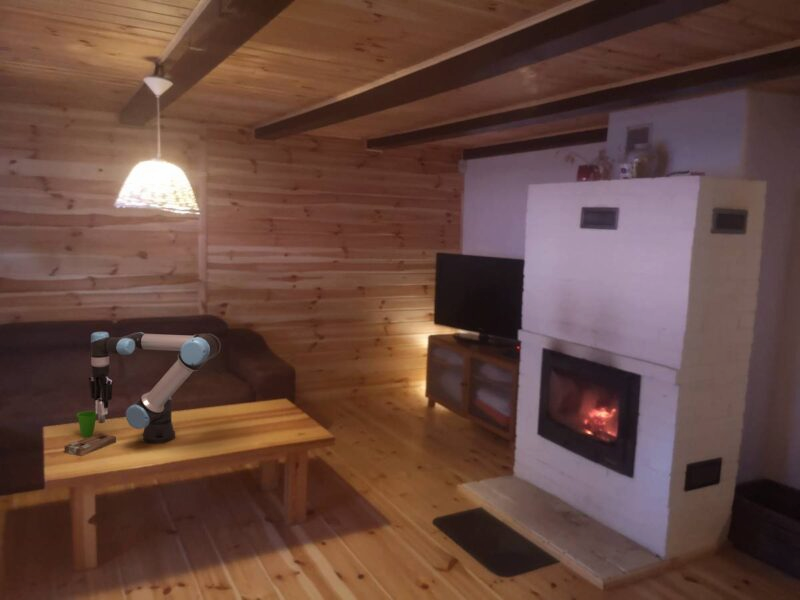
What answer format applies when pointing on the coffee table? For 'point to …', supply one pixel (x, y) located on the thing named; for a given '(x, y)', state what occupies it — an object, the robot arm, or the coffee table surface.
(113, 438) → the mount board
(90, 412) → the cup
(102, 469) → the coffee table surface
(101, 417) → the lock pin
